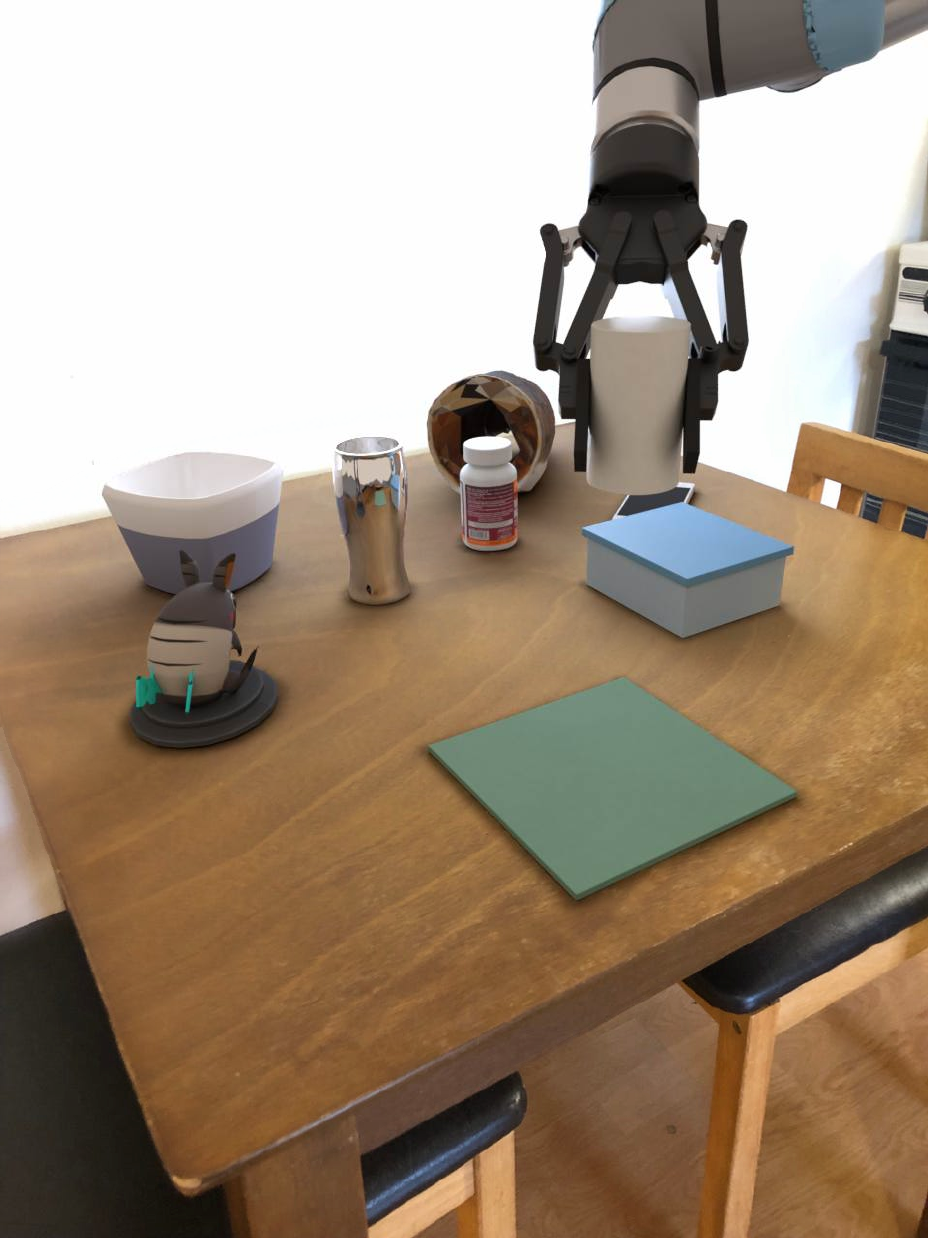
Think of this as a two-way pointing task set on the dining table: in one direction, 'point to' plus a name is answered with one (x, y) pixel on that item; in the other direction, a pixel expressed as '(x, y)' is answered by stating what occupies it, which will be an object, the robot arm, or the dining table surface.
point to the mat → (607, 783)
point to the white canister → (637, 403)
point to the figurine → (199, 668)
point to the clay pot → (492, 423)
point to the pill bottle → (488, 494)
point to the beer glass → (373, 515)
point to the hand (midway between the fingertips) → (635, 461)
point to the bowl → (198, 515)
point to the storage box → (685, 567)
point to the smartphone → (655, 500)
